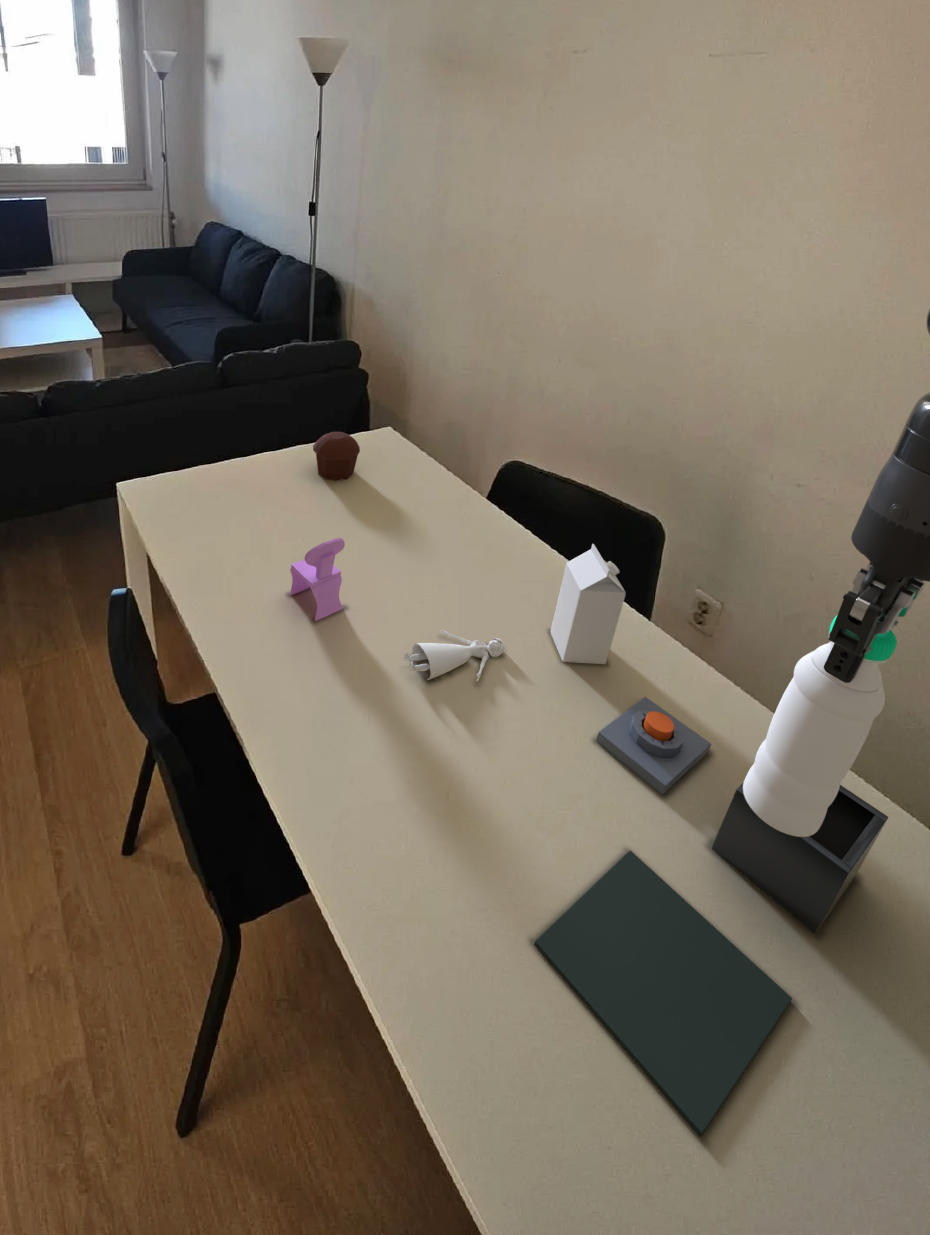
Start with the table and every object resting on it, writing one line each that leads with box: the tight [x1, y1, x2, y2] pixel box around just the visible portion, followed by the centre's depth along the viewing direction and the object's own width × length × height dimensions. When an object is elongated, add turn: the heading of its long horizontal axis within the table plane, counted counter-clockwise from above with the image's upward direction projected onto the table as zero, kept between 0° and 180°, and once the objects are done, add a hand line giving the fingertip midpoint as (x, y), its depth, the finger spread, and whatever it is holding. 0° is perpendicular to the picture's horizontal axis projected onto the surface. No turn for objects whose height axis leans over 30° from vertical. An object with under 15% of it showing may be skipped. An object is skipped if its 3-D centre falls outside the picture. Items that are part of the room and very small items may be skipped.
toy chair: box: [289, 537, 346, 622], centre depth 120 cm, size 8×9×15 cm
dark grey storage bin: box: [711, 781, 889, 934], centre depth 81 cm, size 11×11×11 cm
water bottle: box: [742, 615, 898, 837], centre depth 68 cm, size 7×7×25 cm
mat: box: [533, 850, 793, 1137], centre depth 72 cm, size 18×18×1 cm
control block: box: [595, 696, 712, 796], centre depth 97 cm, size 12×10×4 cm
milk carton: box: [550, 543, 627, 665], centre depth 111 cm, size 7×7×19 cm
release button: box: [643, 711, 674, 741], centre depth 96 cm, size 4×4×2 cm
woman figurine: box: [402, 629, 505, 682], centre depth 111 cm, size 12×4×18 cm
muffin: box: [312, 431, 361, 482], centre depth 166 cm, size 12×11×10 cm
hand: (849, 663), depth 65 cm, fingers closed on water bottle, 5 cm apart
